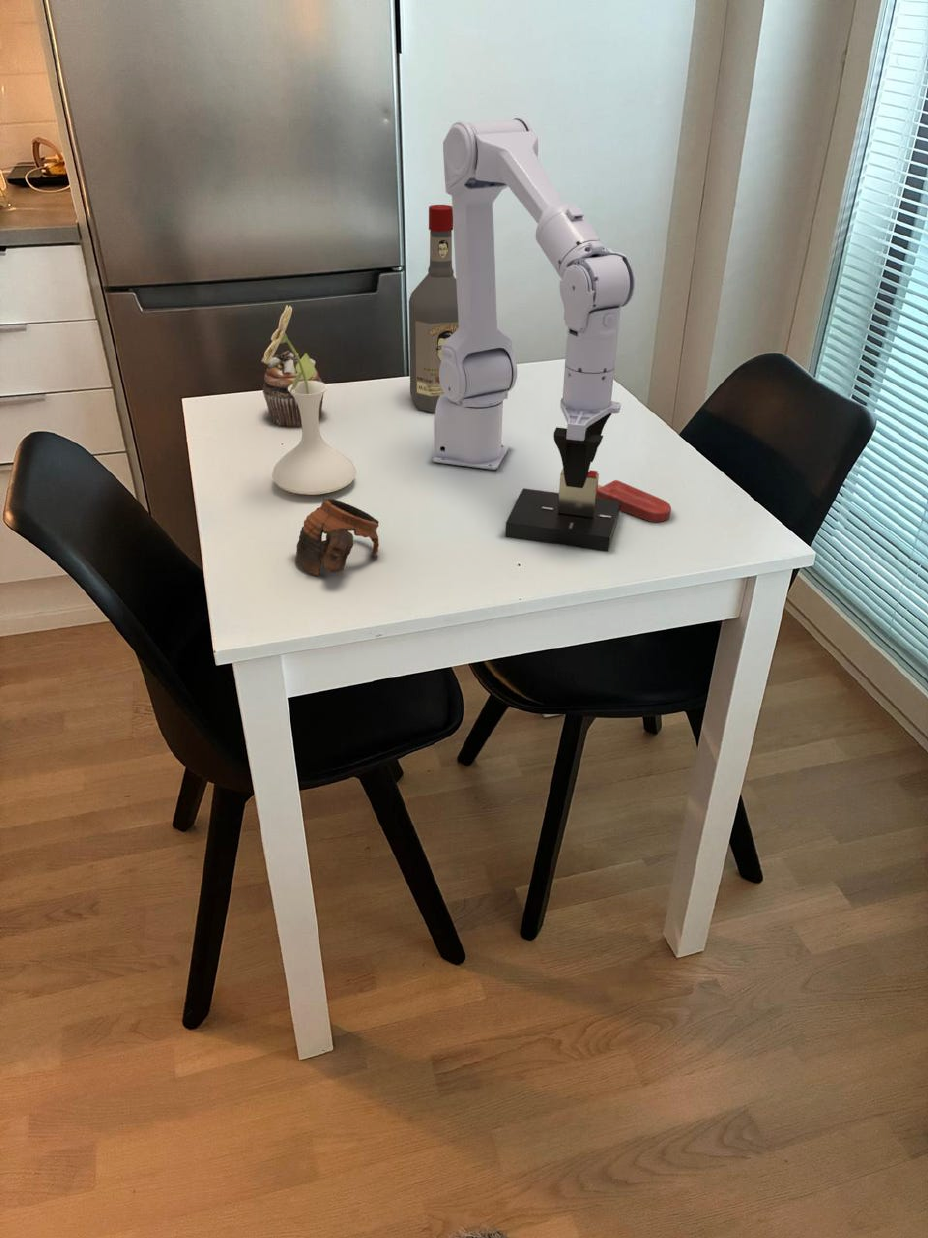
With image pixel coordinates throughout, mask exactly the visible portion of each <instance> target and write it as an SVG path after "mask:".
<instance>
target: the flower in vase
mask: <svg viewBox="0 0 928 1238" xmlns="http://www.w3.org/2000/svg"><path fill="white" fill-rule="evenodd" d="M292 312H293V306H291V305H289V306H288V304H286V306H285V307H284V311H283V313H282V314H281V315H280V318H279V322H278V328H277V329H275V331H274V332H273V333H272V335H271V337H270V340H271V341H272V342H271V343H270V344H269V346H268V347H267V348H266V350H265V351H264V354H263V357H262V359H261V363H263V364H265V365H268V363H269V361H270V360H271V358H272V357H273V355H275V353H276V352H277V350H278V348H279V346H280V344H285V343H286V344H287V345H288V347H289V348H290V350H292V352H293V353H294V355H295V357H296V359H297V361H298V363H297V365H296V371H297V373H298V375H297V376H296V377H295V379H294V381H293V384H291V385H290V386H289V387H288V391H289V392H290V393H291V394H292V395H293V397H294V398H295V400H296V402H297V404H298V407H299V410H300V415H301V421H302V427H301V439H300V441H299V442H298V444H297V445H296V446H295V447H293V448H292V449H290V450H289V451H288V452H287V453H285V455H283V456H282V457H281V458H280V459H279V460H278V461H277V462H276V464H275V465H274V467H273V470H272V473H271V478H272V480H273V482H274V483H275V484H276V485H277V487H279V488H281V489H282V490H284V491H286V492H289V493H293V494H299V495H312V496H313V495H314V496H315V495H323V494H329V493H333V492H337V491H340V490H342V489H344V488H345V487H347V486H349V485H350V484H351V483H352V482H353V480H354V479H355V477H356V475H357V469H356V466H355V464H354V462H353V461H352V460H351V459H350V458H349V457H348V456H347V455H346V454H344V453H343V452H341V451H340V450H338V449H336V448H335V447H333V446H331V445H330V444H329V443H326V441H325V440H324V439H323V438H322V435H321V431H320V420H319V406H320V401H321V398H322V396H323V397H324V394H325V392H326V391H327V389H328V386H327V384H326V383H324V382H322V383H321V382H317V381H307V380H309V379H310V378H311V377H313V376H314V375H315V373H316V370H317V369H316V367H315V366H314V365H313V363H312V362H311V360H310V358H311V357H310V358H309V357H308V355H309V354H308V353H307V352H306V353H304V354H305V355H304V356H303V357H302V358H301V359H299V357H298V355H299V354H298V352H297V351H296V349H295V348H294V346H293V344H292V343H291V341H290V340H289V339H288V335H287V333H286V330H287V328H288V325H289V322H290V320H291V316H292ZM297 354H298V355H297ZM300 378H302V379H304V381H301V382H299V380H300Z"/></svg>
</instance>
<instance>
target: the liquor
mask: <svg viewBox="0 0 928 1238" xmlns="http://www.w3.org/2000/svg"><path fill="white" fill-rule="evenodd" d="M428 230H429V231H430V232H429V233H430V234H429V242H430V243H429V244H430V245H429V247H430V248H429V266H428V268H427V270H428V271H427V274H426V276H425V277H424V278H423V279H422V280H421V281H420V282H419V284H418V285H416V287H415V289H413V291H411V293H410V296H409V298H408V331H409V332H408V335H409V336H408V343H409V344H408V345H409V347H408V348H409V351H408V353H409V393H410V396H411V398H412V400H413V401H414V403H415V405H416V407H417V409H418V410H420V411H423V412H427V413H431V414H432V413H433V414H435V409H436V404H437V401H438V399H439V397H440V395H442V394H444V393H443V391H442V388H441V385H440V381H439V367H440V364H441V351H442V350H441V346H442V345H443V343H444V342H445V341H446V340H447V339H448V338H449V337H450V336H451V335H452V334H453V333H454V332H455V331H456V330H457V329H458V328H459V322H458V303H457V284H456V276H454V269H453V231H454V228H453V209H452V205H448V204H432V205H429V206H428Z"/></svg>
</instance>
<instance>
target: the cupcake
mask: <svg viewBox="0 0 928 1238" xmlns="http://www.w3.org/2000/svg"><path fill="white" fill-rule="evenodd" d="M297 355H298V357H299V359H301V358H302V357H303V356H304V355H305V353H303V354H300V355H299V353H297ZM307 355H308V357H309V358H310V360H311V362H312V363H313V365H314V367H315V366H316V360H314V358H311V356H310V355H309V354H307ZM297 363H298V361H297V359H296V357H295V355H294V353H293V352H292V350H291V349H290V350H288V351H284V352H282V353H281V354H274V355H273V357H272V358H271V360H270V361H269V363H268V364H267V366H268V367H267V368H266V371H265V373H264V375H263V380H264V383H263V384H262V389H261V390H262V394H263V397H264V400H265V403H266V406H267V409H268V413H269V417H270V420H271V422H272V423H274V424H275V425H278V426H281V427H285V428H286V427H287V428H300V427H301V428H302V421H301V415H300V410H299V407H298V404H297V402H296V400H295V398H294V397H293V395H292V394H291V393H290V392H289V391H288V387H289V386H290V385H291V384H293V381H294V379H295V377H296V376H297V375H298V373H297V371H296V365H297ZM301 381H304V379H302V378H300V380H299V382H301ZM307 381H317V382H321V383H323V380H322V378H321V377H320V376H319V372H318V370H317V369H316V373H315V375H314V376H313V377H311V378H310V379H309V380H307ZM323 400H324V395H323V396H322V398H321V401H320V406H319V421H320V420H321V418H322V409H323Z"/></svg>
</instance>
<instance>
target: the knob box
mask: <svg viewBox="0 0 928 1238" xmlns="http://www.w3.org/2000/svg"><path fill="white" fill-rule="evenodd" d="M558 497H559V492H553V491H545V490H539V489H531V488H524V487H523V488H522V489H521V491H520V494H519V496H518V497H517V499H516V501H515V503H514V505H513V507H512V509H511V511H510V514H509V515H508V518H507V520H506V521H505V531H504V533H505V535H504V536H505V537H508V538H515V539H521V540H528V541H529V540H530V541H534V542H535V541H536V542H543V543H550V544H557V545H563V546H568V547H569V546H570V547H577V548H583V549H591V550H598V551H605V552H609V550H610V547H611V543H612V539H613V535H614V533H615V530H616V526H617V524H618V523H617V522H618V519H619V515H620V501H614V500H607V499H599V498H596V508H595V514H594V517H593V518H591V517H584V516H576V515H569V514H562V513H557V510H558Z"/></svg>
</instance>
